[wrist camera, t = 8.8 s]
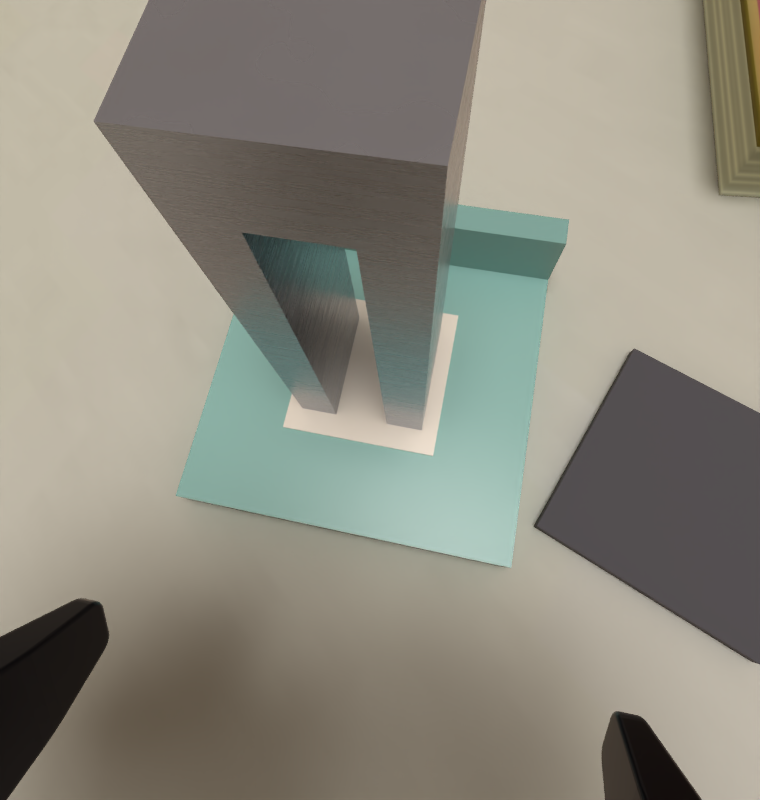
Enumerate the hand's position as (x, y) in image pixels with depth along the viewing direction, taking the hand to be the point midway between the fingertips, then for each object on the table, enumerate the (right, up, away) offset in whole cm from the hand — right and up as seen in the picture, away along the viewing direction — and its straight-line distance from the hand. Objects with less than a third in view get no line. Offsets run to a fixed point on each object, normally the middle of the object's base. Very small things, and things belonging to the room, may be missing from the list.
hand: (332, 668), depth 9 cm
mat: (+12, +1, +10) cm, 15 cm away
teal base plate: (+1, +5, +12) cm, 13 cm away
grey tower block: (+1, +6, +10) cm, 12 cm away
